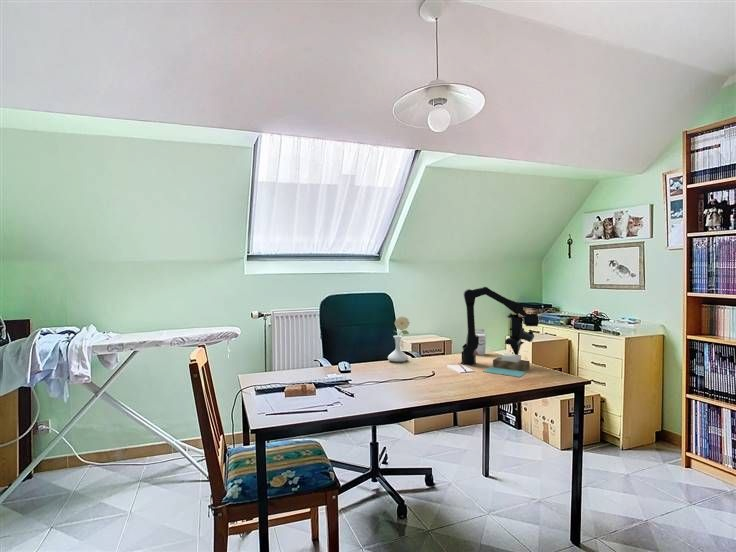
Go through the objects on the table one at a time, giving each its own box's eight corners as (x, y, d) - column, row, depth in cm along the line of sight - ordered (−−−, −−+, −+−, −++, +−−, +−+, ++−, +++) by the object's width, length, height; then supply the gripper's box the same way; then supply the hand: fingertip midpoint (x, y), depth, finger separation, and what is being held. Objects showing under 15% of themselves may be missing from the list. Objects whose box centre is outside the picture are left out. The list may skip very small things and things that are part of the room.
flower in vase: (383, 361, 236) (383, 316, 236) (393, 357, 246) (393, 314, 245) (405, 364, 230) (404, 318, 229) (414, 360, 239) (414, 315, 238)
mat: (482, 371, 213) (482, 371, 213) (491, 367, 222) (491, 366, 222) (519, 377, 202) (519, 376, 202) (526, 372, 211) (526, 371, 211)
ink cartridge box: (470, 355, 251) (470, 329, 251) (469, 353, 256) (469, 328, 256) (485, 355, 250) (485, 330, 250) (484, 353, 255) (484, 328, 255)
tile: (501, 360, 220) (501, 355, 220) (505, 358, 225) (505, 353, 225) (517, 362, 215) (517, 357, 215) (521, 360, 220) (521, 355, 220)
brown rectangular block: (493, 367, 221) (493, 359, 221) (498, 364, 228) (498, 357, 227) (524, 372, 212) (524, 364, 211) (529, 368, 218) (529, 360, 218)
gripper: (527, 329, 214) (526, 361, 214) (537, 325, 229) (537, 354, 229) (504, 328, 220) (504, 358, 221) (516, 323, 235) (516, 351, 236)
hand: (516, 355), depth 227 cm, fingers closed
